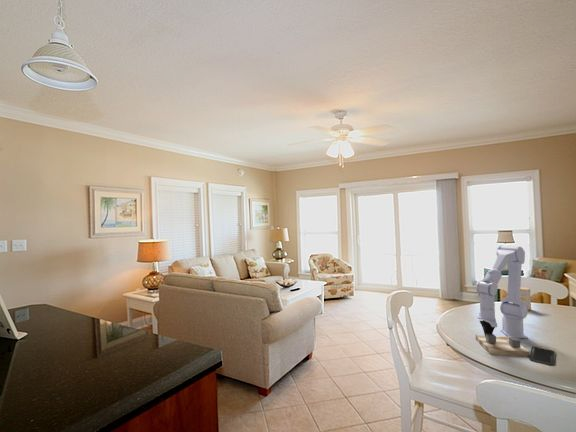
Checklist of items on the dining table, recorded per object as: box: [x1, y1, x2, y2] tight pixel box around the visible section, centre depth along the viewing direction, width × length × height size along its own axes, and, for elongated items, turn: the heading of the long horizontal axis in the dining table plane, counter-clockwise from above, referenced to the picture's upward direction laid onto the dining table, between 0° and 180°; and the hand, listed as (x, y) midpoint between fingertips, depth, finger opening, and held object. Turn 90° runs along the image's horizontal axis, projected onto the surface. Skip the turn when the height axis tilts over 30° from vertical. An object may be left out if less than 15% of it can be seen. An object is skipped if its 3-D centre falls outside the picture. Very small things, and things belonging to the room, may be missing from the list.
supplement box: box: [513, 286, 532, 311], centre depth 190 cm, size 8×5×13 cm, turn 30°
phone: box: [528, 346, 556, 366], centre depth 127 cm, size 8×1×15 cm
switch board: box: [475, 334, 531, 357], centre depth 137 cm, size 16×15×2 cm
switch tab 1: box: [486, 333, 497, 343], centre depth 138 cm, size 3×3×3 cm
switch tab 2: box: [509, 337, 521, 347], centre depth 133 cm, size 3×3×3 cm
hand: (488, 337), depth 141 cm, fingers closed
